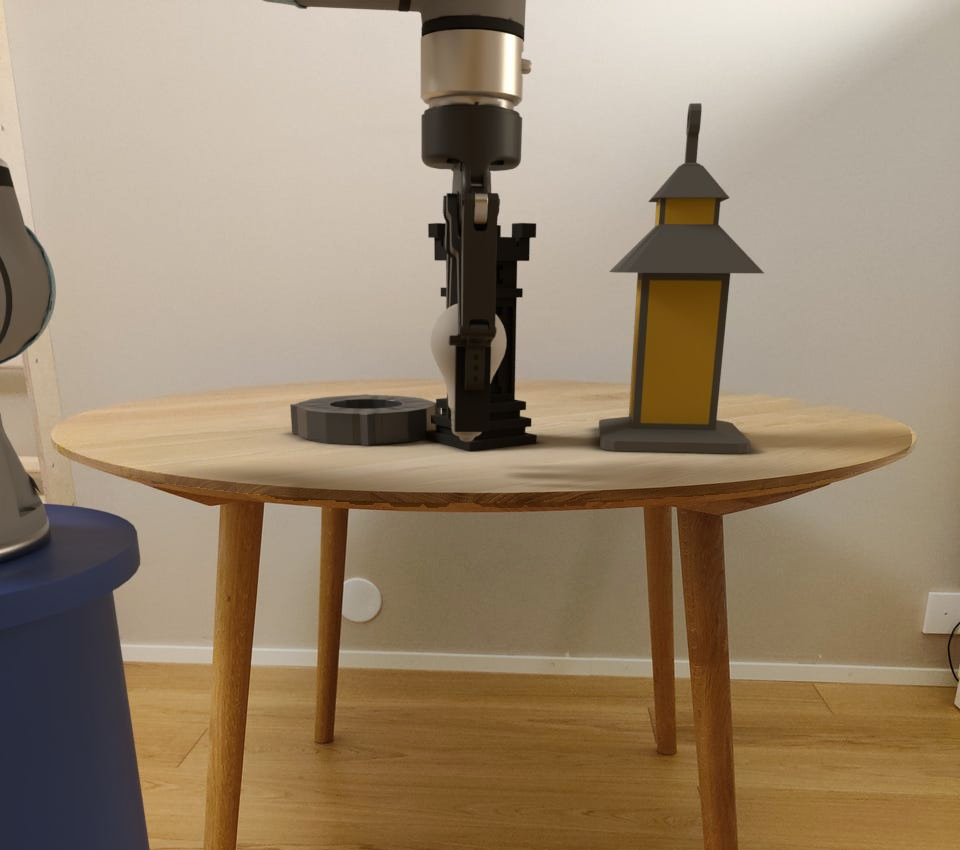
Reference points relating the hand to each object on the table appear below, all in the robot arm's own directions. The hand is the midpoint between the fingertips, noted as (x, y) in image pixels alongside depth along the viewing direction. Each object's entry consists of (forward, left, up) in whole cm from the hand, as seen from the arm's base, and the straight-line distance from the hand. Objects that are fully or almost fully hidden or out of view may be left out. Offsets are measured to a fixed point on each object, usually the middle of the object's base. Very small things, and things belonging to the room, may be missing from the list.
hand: (467, 424), depth 79 cm
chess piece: (+13, +9, -4) cm, 17 cm away
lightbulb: (0, 0, -2) cm, 2 cm away
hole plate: (+10, +21, -4) cm, 24 cm away
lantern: (+26, -5, -4) cm, 27 cm away
